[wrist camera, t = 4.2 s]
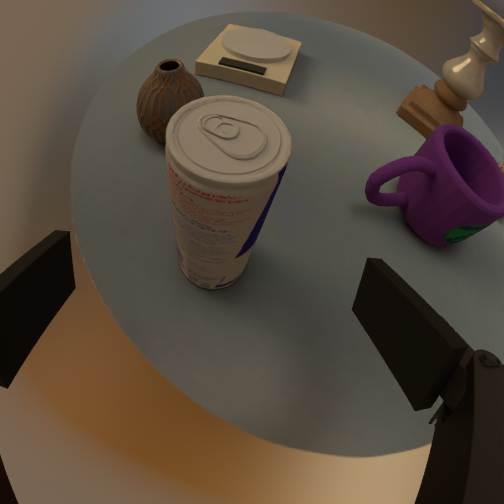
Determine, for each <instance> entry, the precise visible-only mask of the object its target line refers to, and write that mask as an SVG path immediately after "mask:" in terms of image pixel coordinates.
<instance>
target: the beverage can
mask: <svg viewBox="0 0 504 504" xmlns="http://www.w3.org/2000/svg"><path fill="white" fill-rule="evenodd" d="M291 151H292V142H291V136H290V133H289V131H288V129H287V128H286V126H285V124H284V123H283V121H282V120H281V119H280V118H279V117H278V116H277V115H276V114H275V113H274V112H272V111H271V110H269V109H268V108H266V107H265V106H263V105H261V104H259V103H257V102H254V101H252V100H249V99H245V98H241V97H236V96H225V95H217V96H209V97H203V98H200V99H197V100H194V101H191V102H189V103H188V104H186V105H184V106H183V107H181V108H180V109H179V110H178V111H177V112H176V113H175V114H174V115H173V116H172V118H171V119H170V121H169V123H168V126H167V129H166V163H167V172H168V181H169V190H170V198H171V206H172V214H173V221H174V228H175V235H176V242H177V249H178V255H179V262H180V266H181V269H182V271H183V273H184V274H185V276H186V277H187V278H188V279H189V280H190V281H191V282H193V283H194V284H196V285H198V286H200V287H203V288H207V289H220V288H224V287H227V286H229V285H231V284H233V283H234V282H235V281H236V280H237V279H238V278H239V277H240V276H241V274H242V273H243V271H244V269H245V266H246V263H247V261H248V259H249V256H250V254H251V251H252V249H253V247H254V244H255V242H256V239H257V237H258V235H259V232H260V230H261V227H262V225H263V223H264V220H265V218H266V215H267V213H268V211H269V208H270V206H271V203H272V201H273V199H274V196H275V194H276V191H277V189H278V187H279V184H280V182H281V179H282V177H283V175H284V172H285V170H286V166H287V163H288V160H289V158H290V154H291Z"/></svg>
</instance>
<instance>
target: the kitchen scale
mask: <svg viewBox="0 0 504 504" xmlns="http://www.w3.org/2000/svg"><path fill="white" fill-rule="evenodd" d="M301 44H302V42H299V41H296V40H292V39H289V38H286V37H282V36H279V35H277V34H275V33H272V32H270V31H266V30H262V29H256V28H247V27H242V26H237V25H232V24H229V25H228V26H227V27H226V28H225V30H224V31H223V32H222V33H221V34H220V35H219V36H218V37H217V38H216V39H215V40H214V41H213V42H212V43H211V44H210V46H209V47H208V48H207V49H206V50H205V51H204V52H203V53H202V54H201V56H200V57H199V58H198V59H197V60H196V64H195V74H198V75H203V76H207V77H212V78H216V79H221V80H225V81H229V82H233V83H237V84H241V85H245V86H248V87H252V88H255V89H259V90H262V91H266V92H269V93H273V94H276V95H279V96H282V95H283V93H284V90H285V87H286V84H287V82H288V79H289V76H290V74H291V71H292V68H293V66H294V63H295V61H296V58H297V55H298V53H299V50H300V47H301Z"/></svg>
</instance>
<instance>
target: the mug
mask: <svg viewBox="0 0 504 504" xmlns="http://www.w3.org/2000/svg"><path fill="white" fill-rule="evenodd" d="M400 175H401V176H400ZM397 176H400V179H399V182H398V186H397V193H389V194H387V193H380V192H379V190H380V186H381V185H383V184H384V183H385V182H387V181H389V180H391V179H393V178H395V177H397ZM365 194H366V197H367V200H368V201H369V202H370V203H373V204H375V205H377V206H386V207H390V206H399V208H400V210H401V212H402V214H403V217H404V218H405V220H406V221H407V223H408V224H409V226H410V227H411V228H412V229H413V231H414V232H415V233H416V234H417V235H418V236H419V237H421V238H422V239H423V240H425V241H426V242H428V243H430V244H433V245H437V246H448V245H452V244H455V243H458V242H460V241H463V240H465V239H467V238H469V237H470V236H472V235H474V234H476V233H477V232H479V231H481V230H482V229H484V228H486V227H487V226H489V225H490V224H492V223H493V222H495V221H496V220H497V219H499V218H500V217H502V216H503V215H504V176H503V173H502V171H501V169H500V168H499V166H498V164H497V163H496V161H495V159H494V158H493V157H492V155H491V154H490V153H489V151H488V150H487V149H486V148H485V147H484V146H483V144H482V143H481V142H480V141H479V140H477V139H476V138H475V137H474V136H473V135H472V134H470V133H469V132H468V131H466V130H465V129H463V128H461V127H459V126H456V125H454V124H448V123H447V124H442V125H439V126H438V127H437V128H436V129H435V130H434V132H433V133H432V134H431V135H430V136H429V138H428V139H427V140H426V141H425V142H424V144H423V145H422V146H421V147H420V149H419V150H418V151H417V153H416V154H415V155H414V156H409V157H403V158H401V159H398V160H395V161H393V162H390V163H388V164H386V165H384V166H382V167H381V168H379V169H377V170H376V171H375V172H373V173H372V174H371V175H370V177H369V179H368V181H367V183H366V188H365Z"/></svg>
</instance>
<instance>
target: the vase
mask: <svg viewBox="0 0 504 504" xmlns="http://www.w3.org/2000/svg"><path fill="white" fill-rule="evenodd" d="M203 97H204V93H203V90H202V87H201V85H200V83H199V82H198V80H197V79H196V78H195V77H194V76H193V75H192V74H191V73H190V72H189V71H187V70H186V68H185V67H184V65H183V63H182V62H181V61H179V60H176V59H167V60H163V61H161V62H160V63H158V64H157V66H156V68H155V70H154V72H153V73H152V74H151V75H150V76H149V78H148V79H147V80H146V81H145V82H144V84H143V85H142V87H141V89H140V91H139V94H138V98H137V115H138V119H139V122H140V125H141V127H142V128H143V130H144V131H145V132H146V134H147V135H148V136H150V137H151V138H153V139H154V140H157V141H159V142H163V143H166V129H167V126H168V123H169V121H170V119H171V118H172V116H173V115H174V114H175V113H176V112H177V111H178V110H179V109H180V108H181V107H183V106H184V105H186V104H188V103H189V102H191V101H194V100H197V99H200V98H203Z"/></svg>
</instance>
